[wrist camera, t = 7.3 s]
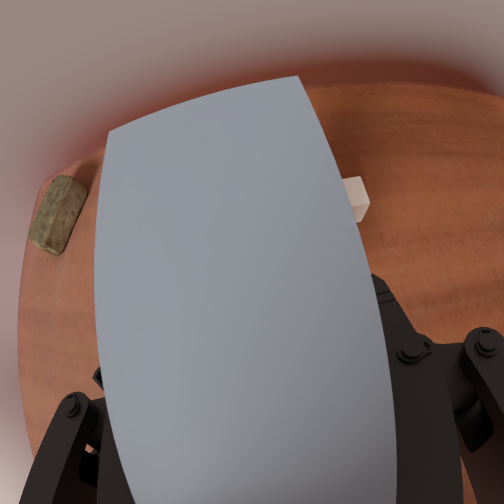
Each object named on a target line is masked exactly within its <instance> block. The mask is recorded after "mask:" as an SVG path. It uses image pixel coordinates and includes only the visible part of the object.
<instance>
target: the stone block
mask: <svg viewBox="0 0 504 504" xmlns="http://www.w3.org/2000/svg"><path fill="white" fill-rule="evenodd" d="M86 196H87V189H86V188H85V187H84V186H83V184H82V183H81V182H79V181H78V180H76V179H74V178H73V177H72V176H67V175H65V176H63V175H58V176H57V177H56V178H55V179H54V180H53V181H52V182H51V184H50V186H49V189H48V191H47V192H46V194H45V196H44V199H43V201H42V203H41V205H40V207H39V210H38V212H37V214H36V217H35V219H34V221H33V223H32V227H31V229H30V231H29V238H30V239H31V240H32V241H33V242H34V244H35V245H36V246H37V247H38V248H40V249H41V250H44V251H46V252H48V253H50V254H53V255H55V256H60V254H61V252H62V251H63V249H64V247H65V244H66V242H67V241H68V239H69V236H70V233H71V231H72V228H73V226H74V224H75V221H76V219H77V217H78V214H79V211H80V210H81V208H82V206H83V204H84V201H85V199H86Z"/></svg>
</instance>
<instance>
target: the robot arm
mask: <svg viewBox="0 0 504 504" xmlns="http://www.w3.org/2000/svg"><path fill="white" fill-rule="evenodd" d="M371 277H372V281H373V285H374V289H375V294H376V298H377V303H378V307H379V312H380V317H381V322H382V327H383V333H384V338H385V344H386V350H387V356H388V363H389V370H390V378H391V386H392V394H393V404H394V416H395V430H396V452H397V489H396V504H463V481H462V469H461V459H460V455H461V458H462V460H463V463H464V465H465V468H466V471H467V473H468V476H469V479H470V482H471V485H472V488H473V491H474V494H475V497H476V500H477V503H478V504H504V338H503V336H502V335H501V334H500V333H498V332H497V331H496V330H494V329H491V328H489V327H479V328H475V329H473V330H472V331H471V332H469V333H468V335H467V337H466V339H465V341H464V342H463V343H452V344H436V343H433V341H432V340H431V339H429V338H428V337H427V336H425V335H422V334H419V333H417V332H416V331H415V329H414V328H413V326H412V324H411V323H410V321H409V319H408V318H407V316H406V314H405V313H404V311H403V310H402V308H401V306H400V305H399V303H398V302H397V301H396V298H395V297H394V295H393V294H392V292H390V289H389V287H388V286H387V284H386V283H385V281H384V280H382V279H381V278H379V277H377V276H376V275H374V274H371ZM93 379H94V380H95V382H96V383H97V384H98V385H99V386H100V387H101V388H102V389H103V391H104V388H103V382H102V375H101V368H100V367H99V368H98V369H97V370H96V371H95V373H94V376H93ZM87 444H88V445H89V446H91V447H92V448H94V449H93V451H92V452H90V453H88V452H87V451H85V448H86V445H87ZM19 504H136V503H135V501H134V498H133V496H132V493H131V490H130V488H129V485H128V482H127V479H126V476H125V473H124V470H123V467H122V464H121V461H120V457H119V454H118V450H117V447H116V443H115V439H114V435H113V431H112V427H111V423H110V419H109V414H108V409H107V404H106V399H105V397H103V398H99V399H95V400H90V399H89V398H88V397H87V396H86V395H85V394H84V393H82V392H73V393H71V394H68V395H67V396H66V397H65V398H64V399H63V400H62V401H61V403H60V404H59V406H58V408H57V410H56V412H55V414H54V416H53V419H52V421H51V423H50V425H49V427H48V429H47V431H46V434H45V436H44V438H43V441H42V443H41V445H40V448H39V450H38V452H37V455H36V457H35V460H34V462H33V465H32V467H31V470H30V473H29V476H28V478H27V481H26V484H25V487H24V489H23V492H22V496H21V499H20V502H19Z"/></svg>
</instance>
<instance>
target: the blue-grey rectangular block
mask: <svg viewBox="0 0 504 504" xmlns="http://www.w3.org/2000/svg"><path fill="white" fill-rule="evenodd" d="M94 295H95V318H96V332H97V343H98V352H99V361H100V368H101V375H102V382H103V388H104V394H105V399H106V404H107V409H108V414H109V419H110V423H111V427H112V431H113V435H114V439H115V443H116V447H117V450H118V454H119V457H120V461H121V464H122V467H123V470H124V473H125V476H126V479H127V482H128V485H129V488H130V490H131V493H132V496H133V498H134V501H135V503H136V504H396V489H397V452H396V430H395V416H394V404H393V394H392V386H391V378H390V370H389V363H388V356H387V350H386V344H385V338H384V333H383V327H382V322H381V317H380V312H379V307H378V303H377V298H376V294H375V289H374V285H373V281H372V277H371V273H370V269H369V265H368V261H367V257H366V254H365V250H364V246H363V243H362V239H361V236H360V233H359V229H358V226H357V223H356V219H355V216H354V213H353V210H352V207H351V204H350V201H349V198H348V195H347V192H346V189H345V186H344V183H343V181H342V178H341V175H340V172H339V170H338V167H337V164H336V162H335V159H334V156H333V154H332V151H331V149H330V146H329V144H328V141H327V139H326V136H325V134H324V132H323V129H322V127H321V125H320V122H319V120H318V118H317V116H316V113H315V111H314V109H313V107H312V104H311V102H310V100H309V98H308V96H307V94H306V92H305V90H304V88H303V85H302V83H301V81H300V79H299V77H298V76H293V77H285V78H280V79H274V80H269V81H263V82H259V83H253V84H249V85H244V86H240V87H236V88H232V89H228V90H224V91H220V92H217V93H213V94H209V95H206V96H203V97H199V98H196V99H193V100H189V101H187V102H183V103H180V104H177V105H175V106H171V107H169V108H166V109H163V110H160V111H158V112H155V113H152V114H150V115H147V116H145V117H142V118H140V119H137V120H135V121H132V122H130V123H128V124H125V125H123V126H121V127H118V128H116V129H114V130H112V131H110V132H109V136H108V140H107V145H106V151H105V156H104V162H103V169H102V175H101V182H100V190H99V199H98V208H97V220H96V234H95V257H94Z"/></svg>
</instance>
